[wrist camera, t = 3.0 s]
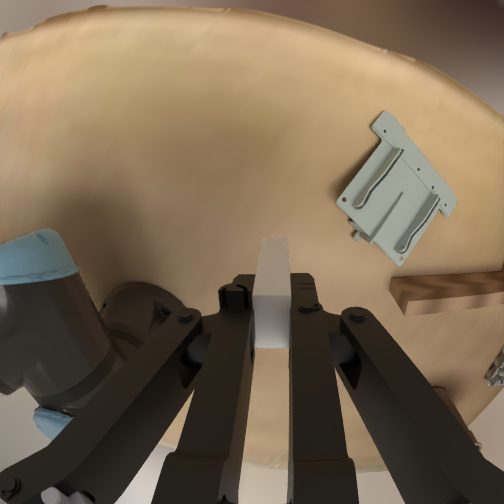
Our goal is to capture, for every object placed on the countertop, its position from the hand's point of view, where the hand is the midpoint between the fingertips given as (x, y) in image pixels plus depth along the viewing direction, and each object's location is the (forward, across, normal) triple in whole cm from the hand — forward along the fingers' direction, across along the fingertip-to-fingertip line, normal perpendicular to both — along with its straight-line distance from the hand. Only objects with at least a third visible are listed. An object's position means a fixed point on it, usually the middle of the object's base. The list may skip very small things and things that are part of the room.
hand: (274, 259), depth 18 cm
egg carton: (+17, -48, +31) cm, 60 cm away
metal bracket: (+17, -14, -1) cm, 22 cm away
